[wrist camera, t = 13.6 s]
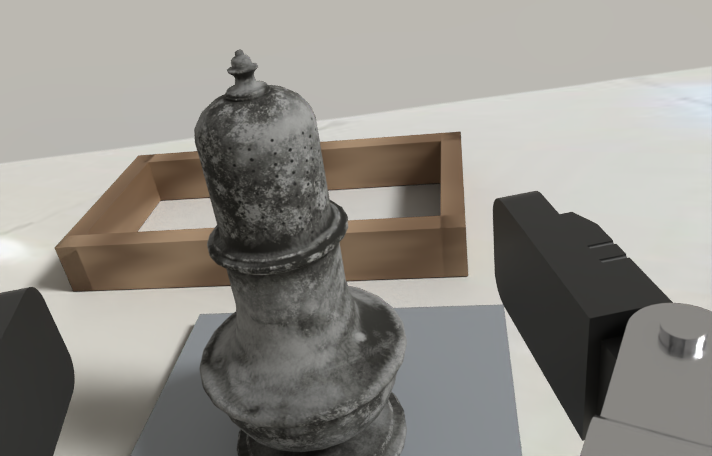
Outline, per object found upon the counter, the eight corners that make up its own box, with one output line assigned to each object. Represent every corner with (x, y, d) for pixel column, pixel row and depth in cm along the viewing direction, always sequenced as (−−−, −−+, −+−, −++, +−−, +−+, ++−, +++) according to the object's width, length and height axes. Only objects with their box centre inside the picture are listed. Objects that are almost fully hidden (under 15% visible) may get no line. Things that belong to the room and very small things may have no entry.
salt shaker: (193, 436, 21) (61, 69, 15) (335, 343, 24) (273, 6, 18) (303, 559, 17) (180, 122, 11) (457, 428, 20) (429, 29, 14)
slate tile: (58, 631, 17) (49, 618, 16) (203, 325, 27) (200, 314, 27) (544, 657, 15) (544, 643, 14) (503, 316, 25) (503, 304, 25)
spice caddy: (73, 291, 30) (54, 247, 29) (150, 192, 38) (138, 155, 37) (467, 275, 27) (465, 226, 26) (462, 172, 35) (460, 131, 34)
